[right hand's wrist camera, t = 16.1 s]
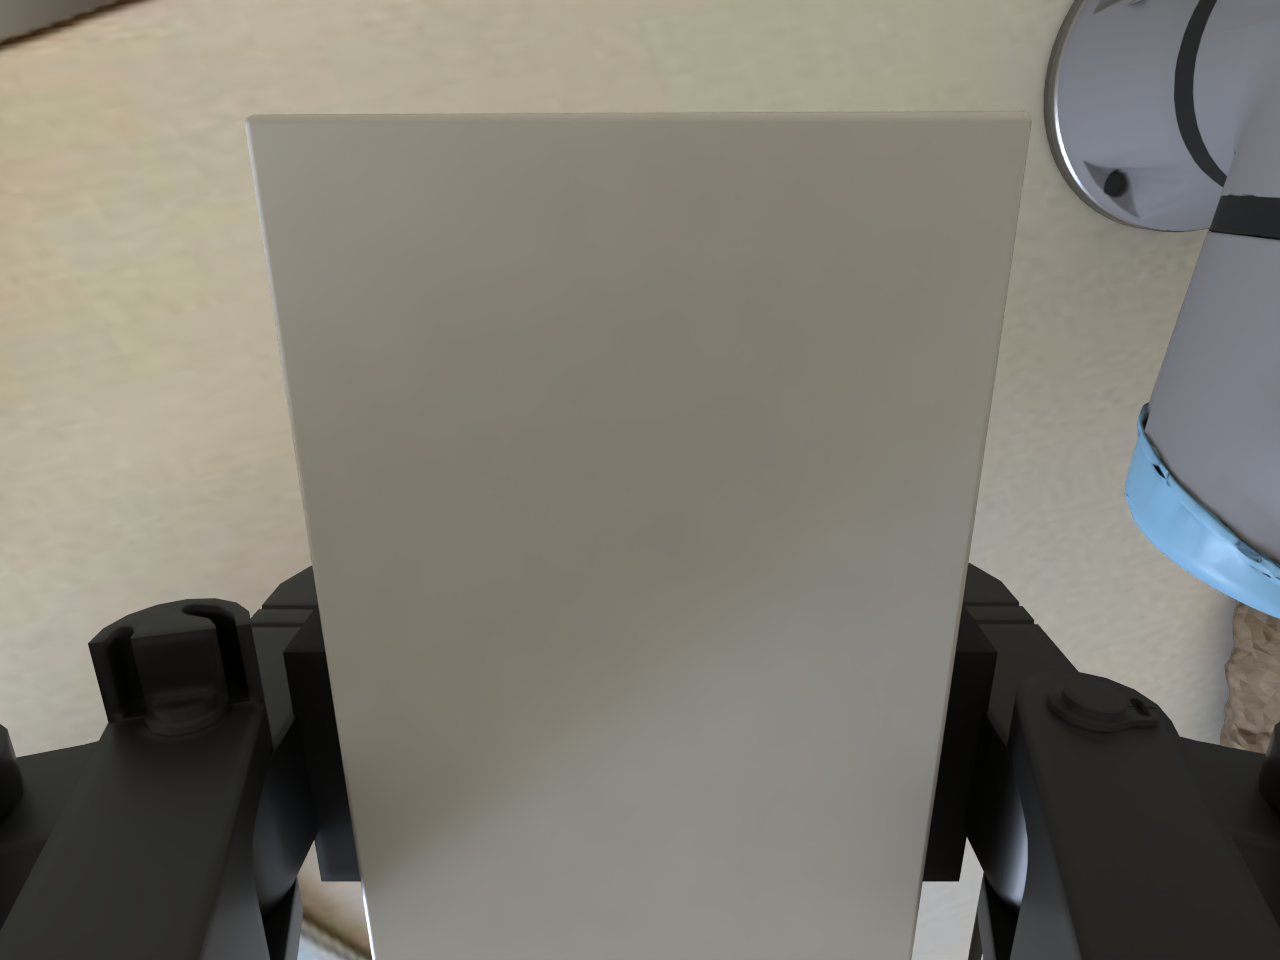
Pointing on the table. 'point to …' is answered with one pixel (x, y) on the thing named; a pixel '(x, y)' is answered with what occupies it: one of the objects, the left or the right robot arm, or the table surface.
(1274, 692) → the stone
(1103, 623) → the table surface
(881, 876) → the beam
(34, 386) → the table surface
